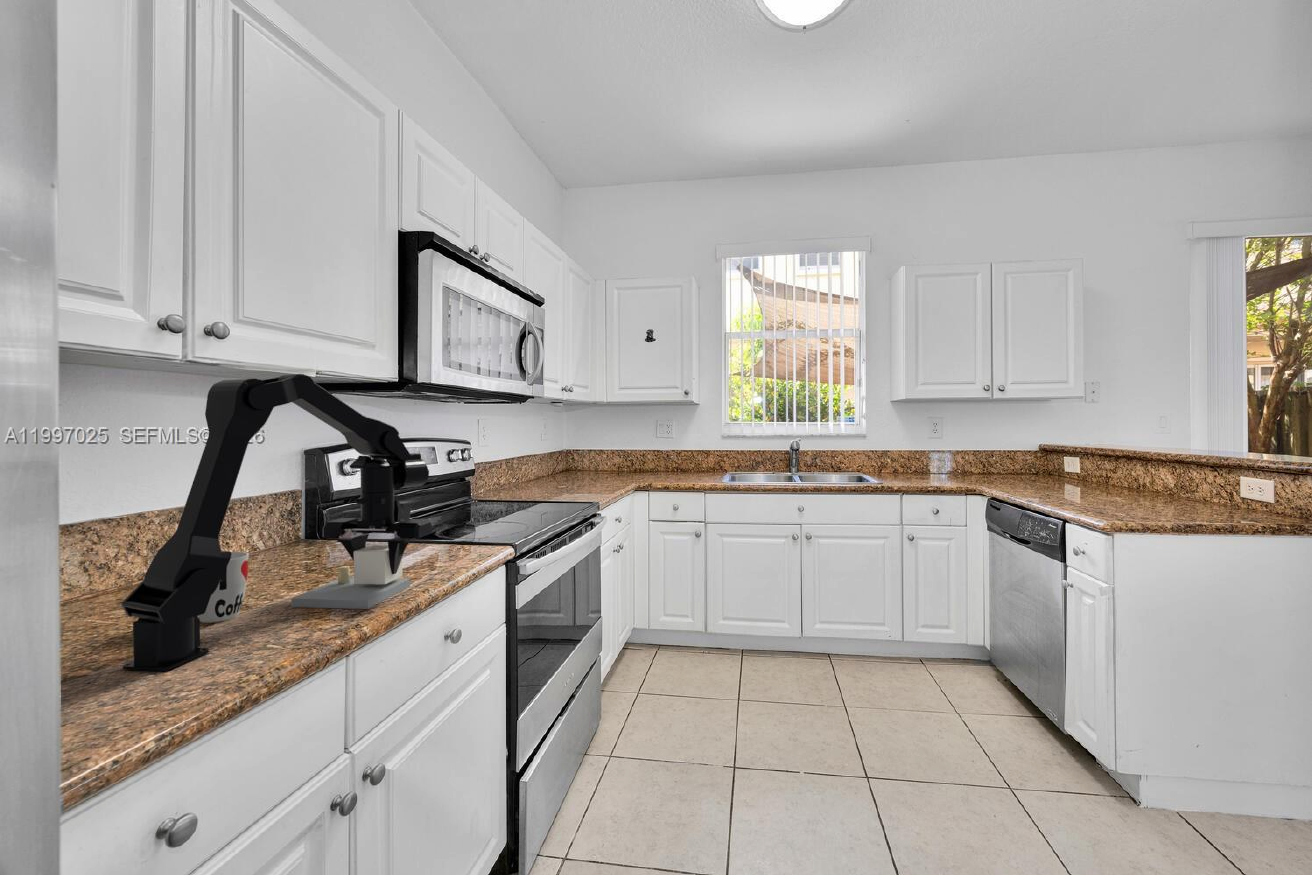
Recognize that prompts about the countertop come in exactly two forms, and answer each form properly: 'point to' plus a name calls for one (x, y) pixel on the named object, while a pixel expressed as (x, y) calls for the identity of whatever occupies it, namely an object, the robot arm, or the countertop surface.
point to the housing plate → (349, 593)
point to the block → (374, 565)
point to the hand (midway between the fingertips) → (378, 573)
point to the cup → (228, 591)
